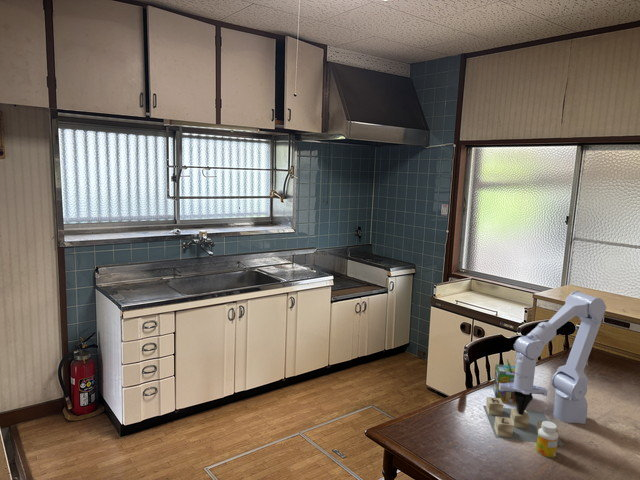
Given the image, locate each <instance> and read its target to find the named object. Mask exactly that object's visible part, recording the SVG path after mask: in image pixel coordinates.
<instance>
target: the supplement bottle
mask: <svg viewBox="0 0 640 480" xmlns="http://www.w3.org/2000/svg"><path fill="white" fill-rule="evenodd" d="M557 427H558V426H557V424H555V423H554V422H552V421H549V420H548V421H543V422H542V425H541V428H540V429H539V430H538V437H537V443H536V446H535V451H536V452H537V453H538V454H539V455H541V456H543V457H545V458H555V457H556V456H557V450H558V445H557V443H558V437H559V434H557V432H556V430H558V428H557Z"/></svg>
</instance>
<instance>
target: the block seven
mask: <svg viewBox="0 0 640 480" xmlns="http://www.w3.org/2000/svg"><path fill="white" fill-rule="evenodd" d="M513 427H514V425H513V423H512V421H511V419H510V418H506V417H496V416H495V425H494V429H495V431H496V434H497V436H504V437H512V436H513Z"/></svg>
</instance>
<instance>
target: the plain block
mask: <svg viewBox="0 0 640 480" xmlns="http://www.w3.org/2000/svg"><path fill="white" fill-rule="evenodd" d="M510 409H511V416H510V419H511V421H512V423H513V425H514V427H519V428H528V426H529V415H528V413H527V412H526V409H525V411H524V413H523V414H518V412H517V408H510Z"/></svg>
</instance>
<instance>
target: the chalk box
mask: <svg viewBox="0 0 640 480" xmlns="http://www.w3.org/2000/svg"><path fill="white" fill-rule="evenodd" d="M506 363H507V364H495V366H494V367H495V368H494V370H495V371H494V379H493V380H494V381H493V382H494V383H493V388H492V389H493V394H494V396H495V397H494V398H501V401H502V403H510V404H516V400H515V397H514V394H513V392H512V391H500V390H499V383H514V377H515V368H516V365H511V362H510V361H509V359H508V358H506Z"/></svg>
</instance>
